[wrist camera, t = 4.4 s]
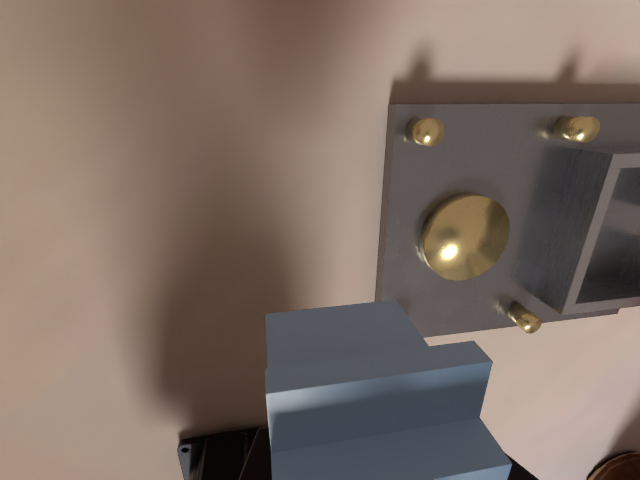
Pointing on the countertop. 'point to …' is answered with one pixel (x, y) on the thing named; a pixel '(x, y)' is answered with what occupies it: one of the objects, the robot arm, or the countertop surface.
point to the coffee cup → (619, 468)
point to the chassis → (510, 214)
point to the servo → (374, 399)
